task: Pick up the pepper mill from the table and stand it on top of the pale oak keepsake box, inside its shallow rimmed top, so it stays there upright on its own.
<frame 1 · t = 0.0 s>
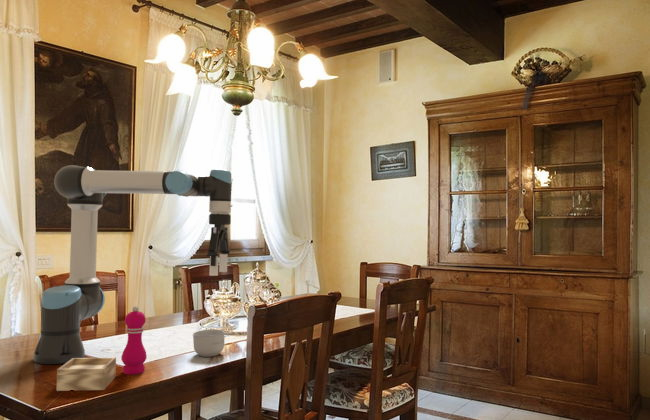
hand: (218, 273, 188), 28 cm above the table, tool pointing down, fingers open, 13 cm apart
oak box: (87, 383, 150), on the table
teacup: (210, 354, 187), on the table
pepper mill: (133, 372, 163), on the table
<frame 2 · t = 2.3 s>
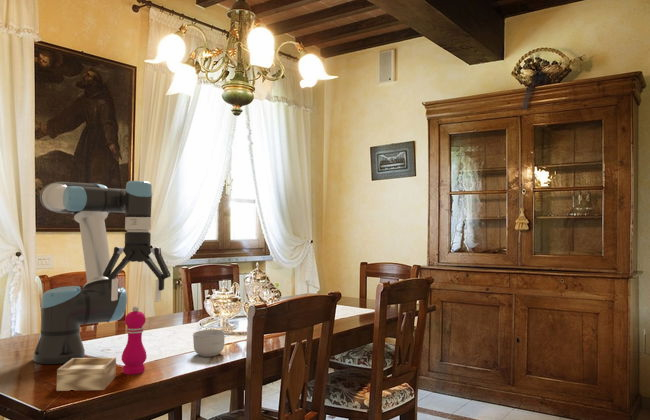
hand: (136, 300, 163), 22 cm above the table, tool pointing down, fingers open, 13 cm apart
nothing on the table moved.
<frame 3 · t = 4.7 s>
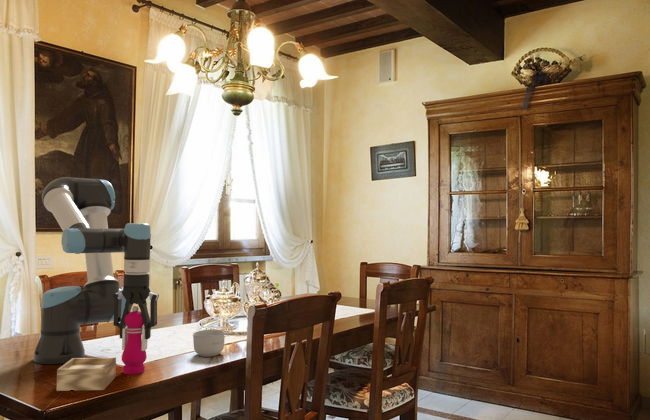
hand: (134, 349, 163), 7 cm above the table, tool pointing down, fingers closed on pepper mill, 5 cm apart
pepper mill: (133, 372, 163), on the table, touching gripper
everything else where it was.
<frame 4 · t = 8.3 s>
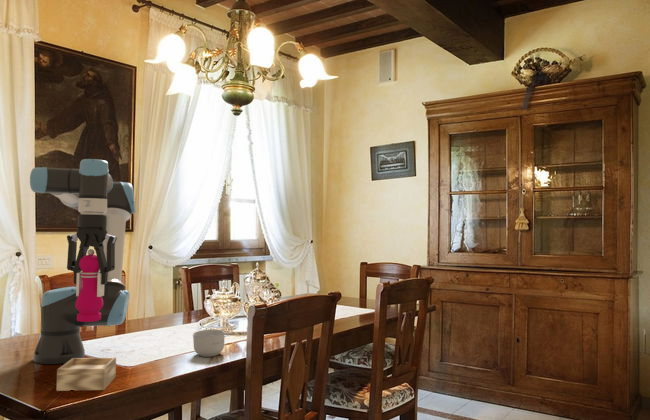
hand: (90, 295, 151), 25 cm above the table, tool pointing down, fingers closed on pepper mill, 5 cm apart
pepper mill: (88, 320, 151), point 18 cm above the table, touching gripper
everything else where it was.
when the fingers open (11 cm above the table, at t = 12.3 s): pepper mill stays where it is, resting on oak box.
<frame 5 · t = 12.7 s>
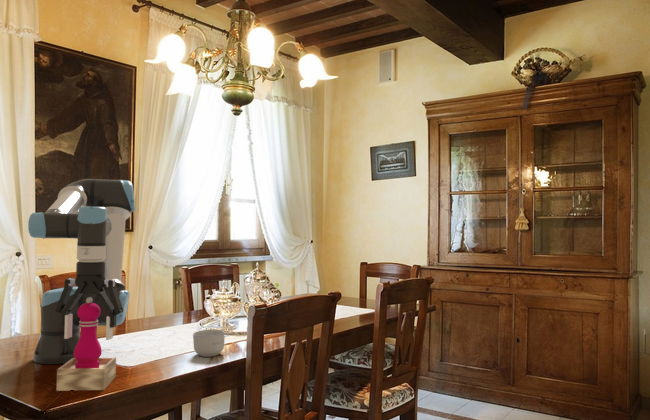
hand: (88, 338, 151), 13 cm above the table, tool pointing down, fingers open, 11 cm apart
pepper mill: (87, 369, 151), point 4 cm above the table, touching oak box
everything else where it was.
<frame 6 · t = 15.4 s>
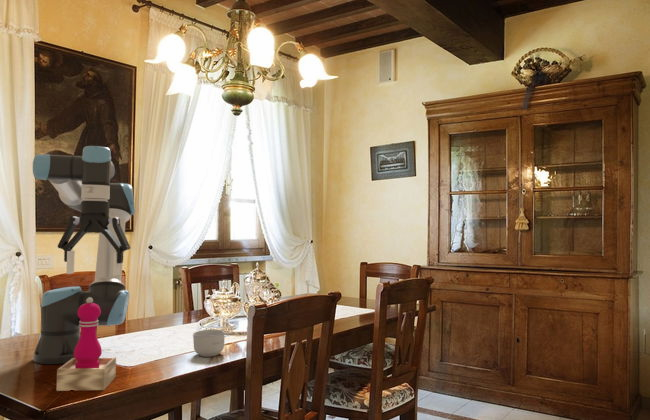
hand: (93, 274, 153), 31 cm above the table, tool pointing down, fingers open, 13 cm apart
nothing on the table moved.
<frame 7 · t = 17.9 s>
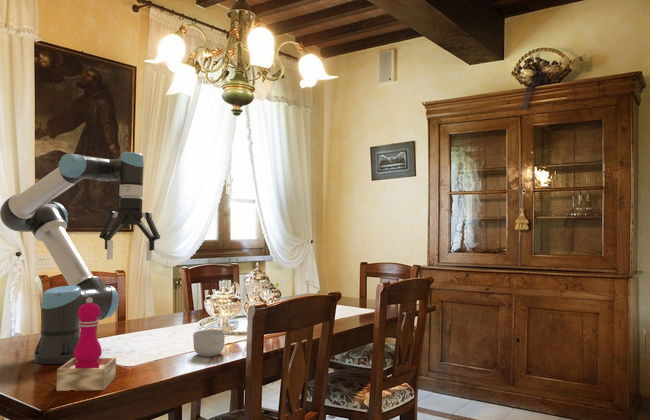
hand: (129, 259, 182), 33 cm above the table, tool pointing down, fingers open, 13 cm apart
nothing on the table moved.
at the end: pepper mill inside the target area on the oak box (0.1 cm from its centre), point 4.0 cm above the oak box's base; pepper mill tilted 0°; the gripper is holding nothing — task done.
